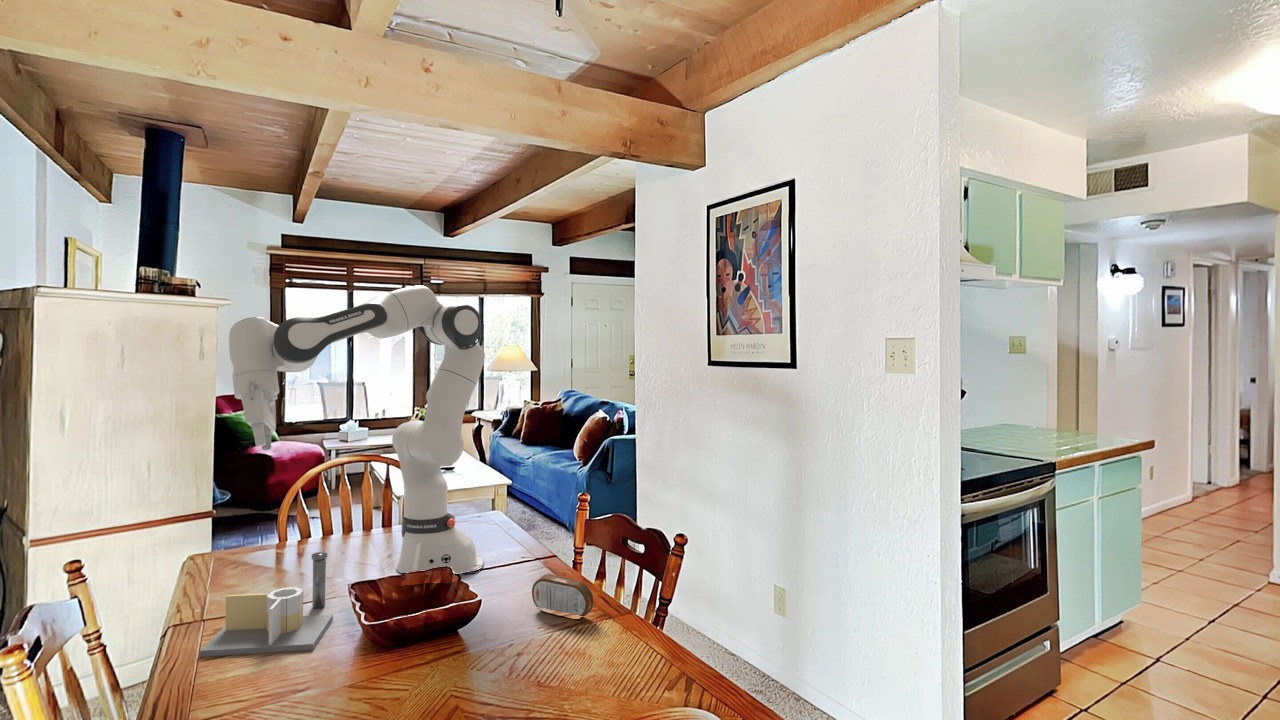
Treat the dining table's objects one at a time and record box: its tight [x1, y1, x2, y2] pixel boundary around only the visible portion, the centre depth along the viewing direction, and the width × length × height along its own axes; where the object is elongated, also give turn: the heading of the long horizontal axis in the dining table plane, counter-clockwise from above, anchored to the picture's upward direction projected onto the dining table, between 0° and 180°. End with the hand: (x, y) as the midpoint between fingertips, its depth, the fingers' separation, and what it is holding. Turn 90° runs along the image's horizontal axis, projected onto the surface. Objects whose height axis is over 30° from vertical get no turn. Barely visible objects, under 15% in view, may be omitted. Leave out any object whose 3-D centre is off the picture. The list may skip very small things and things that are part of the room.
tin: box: [531, 573, 594, 617], centre depth 146 cm, size 15×3×8 cm, turn 65°
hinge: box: [199, 586, 334, 658], centre depth 132 cm, size 20×14×8 cm
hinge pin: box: [311, 551, 328, 610], centre depth 148 cm, size 3×3×12 cm
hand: (264, 448), depth 146 cm, fingers open, 8 cm apart
